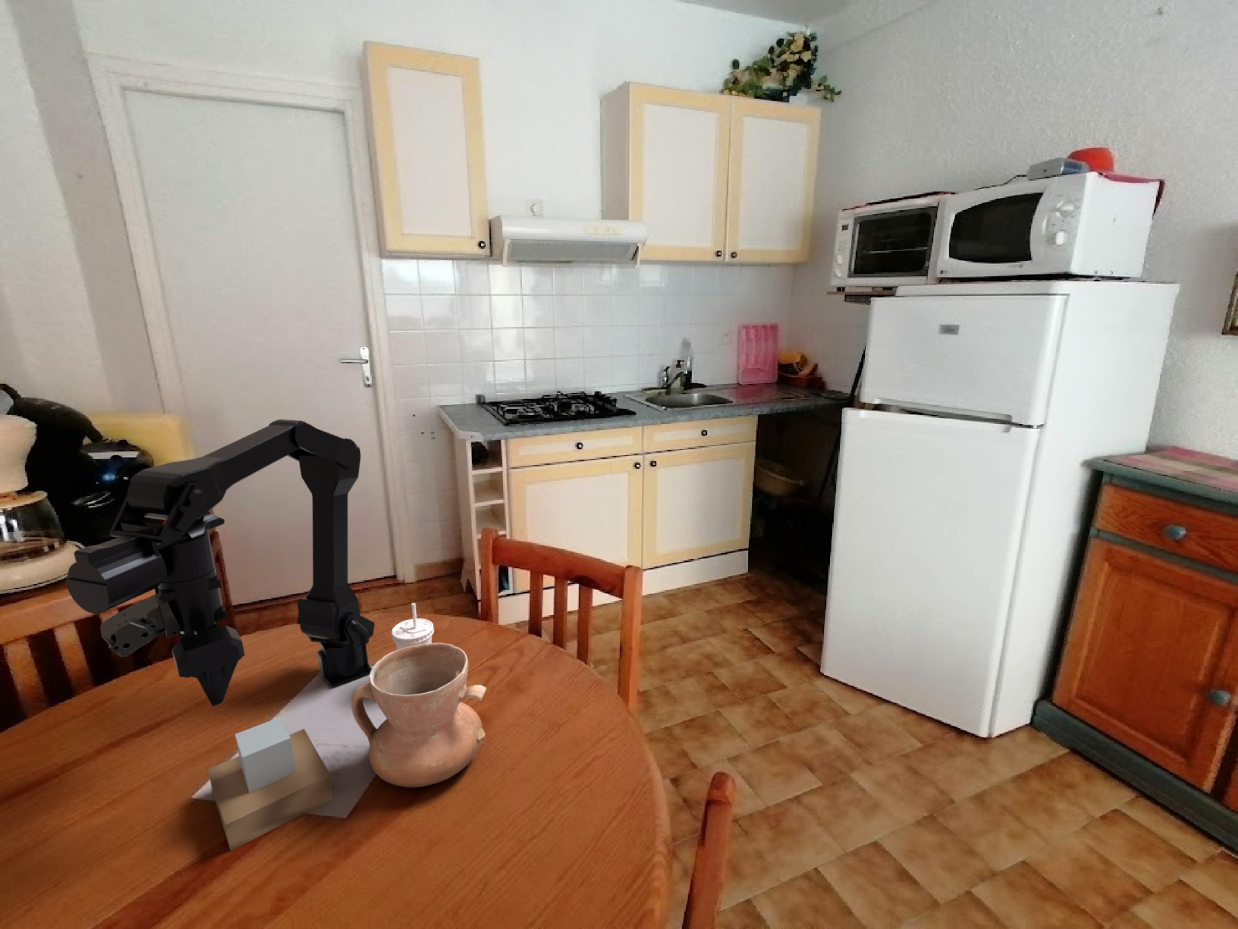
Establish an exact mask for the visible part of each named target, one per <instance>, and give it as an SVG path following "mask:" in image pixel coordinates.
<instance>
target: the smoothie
mask: <svg viewBox="0 0 1238 929" xmlns="http://www.w3.org/2000/svg"><path fill="white" fill-rule="evenodd" d="M416 608H417V604H416V603H415V602H412V603H411V612H412V618H411V619H407V620H403V621H400V622H399V623H397V624H395V625H394V626H393V628H392V630H391V640H392V641H393V642H394V645H395V648H396V650H399V649H402V648H405V647H410V646H413V645H421V644H426V643H427V644H430V643H433V642H432V639H433V635H434V632H435V628H434V623H433V622H432V621H430V620H428V619H426V618H418V617H417V609H416Z"/></svg>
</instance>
